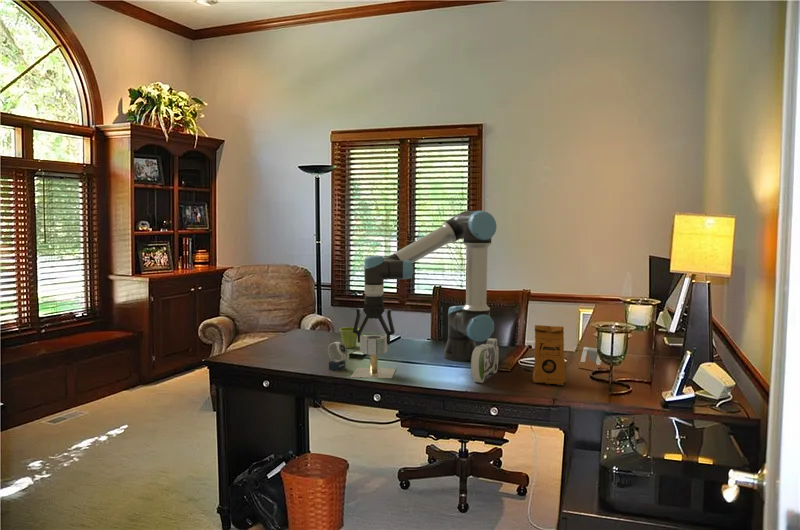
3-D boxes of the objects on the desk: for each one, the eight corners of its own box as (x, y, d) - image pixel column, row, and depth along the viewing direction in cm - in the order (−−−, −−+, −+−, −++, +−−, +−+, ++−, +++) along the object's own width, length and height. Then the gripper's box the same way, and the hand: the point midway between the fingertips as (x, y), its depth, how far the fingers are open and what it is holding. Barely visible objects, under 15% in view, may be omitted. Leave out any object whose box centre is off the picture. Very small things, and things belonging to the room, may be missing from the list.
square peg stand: (395, 369, 257) (396, 342, 256) (391, 378, 243) (391, 349, 242) (357, 368, 259) (357, 341, 258) (350, 377, 245) (350, 348, 244)
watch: (341, 371, 253) (341, 344, 252) (325, 369, 257) (325, 342, 256) (349, 368, 258) (349, 342, 257) (332, 366, 262) (332, 340, 261)
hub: (386, 349, 254) (386, 335, 254) (383, 354, 245) (383, 339, 245) (364, 349, 255) (364, 334, 255) (360, 354, 246) (360, 339, 246)
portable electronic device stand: (577, 368, 260) (578, 348, 259) (586, 365, 265) (586, 345, 265) (597, 372, 254) (597, 352, 253) (605, 368, 260) (606, 349, 259)
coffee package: (564, 388, 231) (566, 329, 229) (530, 384, 236) (532, 326, 234) (567, 381, 241) (568, 324, 239) (534, 378, 245) (535, 322, 243)
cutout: (492, 337, 256) (471, 344, 233) (499, 337, 255) (478, 344, 232) (491, 374, 256) (470, 384, 234) (497, 374, 255) (477, 385, 233)
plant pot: (358, 349, 294) (358, 330, 293) (338, 349, 294) (338, 330, 293) (360, 344, 303) (360, 327, 302) (340, 344, 303) (340, 326, 303)
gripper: (344, 295, 246) (344, 352, 248) (400, 296, 243) (399, 354, 245) (348, 293, 253) (348, 348, 255) (402, 294, 251) (402, 349, 253)
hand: (373, 351), depth 250 cm, fingers closed on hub, 9 cm apart
